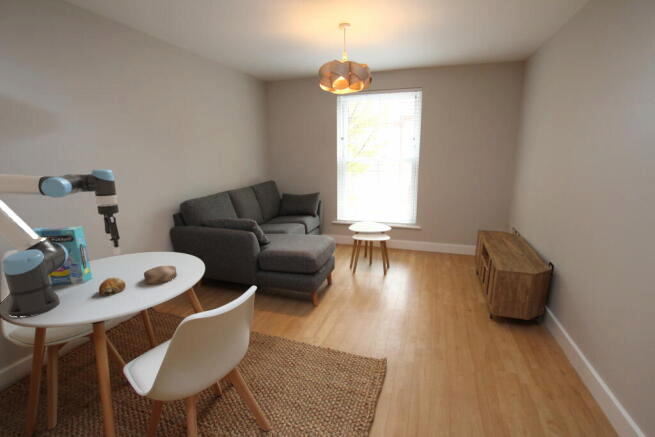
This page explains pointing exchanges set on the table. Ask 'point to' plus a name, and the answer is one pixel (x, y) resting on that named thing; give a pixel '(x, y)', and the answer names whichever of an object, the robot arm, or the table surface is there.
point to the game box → (69, 254)
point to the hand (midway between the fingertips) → (114, 250)
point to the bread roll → (112, 286)
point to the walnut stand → (160, 274)
